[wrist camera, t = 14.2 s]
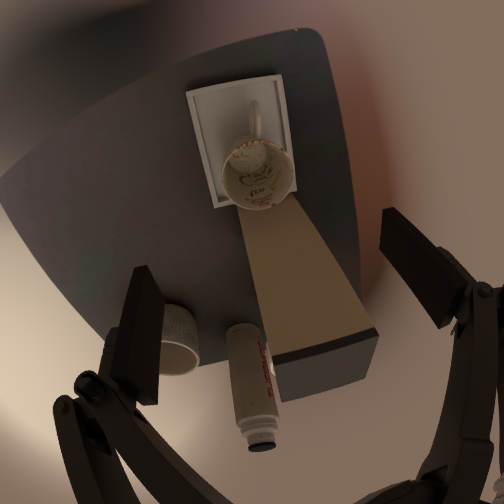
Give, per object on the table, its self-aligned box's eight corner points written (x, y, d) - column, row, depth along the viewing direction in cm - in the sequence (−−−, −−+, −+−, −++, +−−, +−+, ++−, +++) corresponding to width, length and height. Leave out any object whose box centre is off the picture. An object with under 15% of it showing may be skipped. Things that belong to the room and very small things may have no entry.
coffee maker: (187, 91, 33) (131, 112, 9) (276, 74, 33) (414, 78, 9) (226, 248, 48) (249, 409, 25) (297, 232, 49) (367, 377, 25)
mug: (219, 183, 40) (223, 213, 32) (214, 99, 33) (216, 104, 25) (275, 179, 41) (293, 208, 33) (275, 97, 34) (297, 102, 26)
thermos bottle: (257, 319, 60) (284, 440, 37) (262, 340, 65) (286, 449, 42) (222, 326, 60) (236, 448, 37) (229, 346, 64) (244, 456, 42)
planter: (154, 288, 51) (147, 332, 42) (209, 310, 56) (211, 353, 48) (133, 323, 56) (126, 364, 47) (183, 341, 61) (182, 381, 52)
